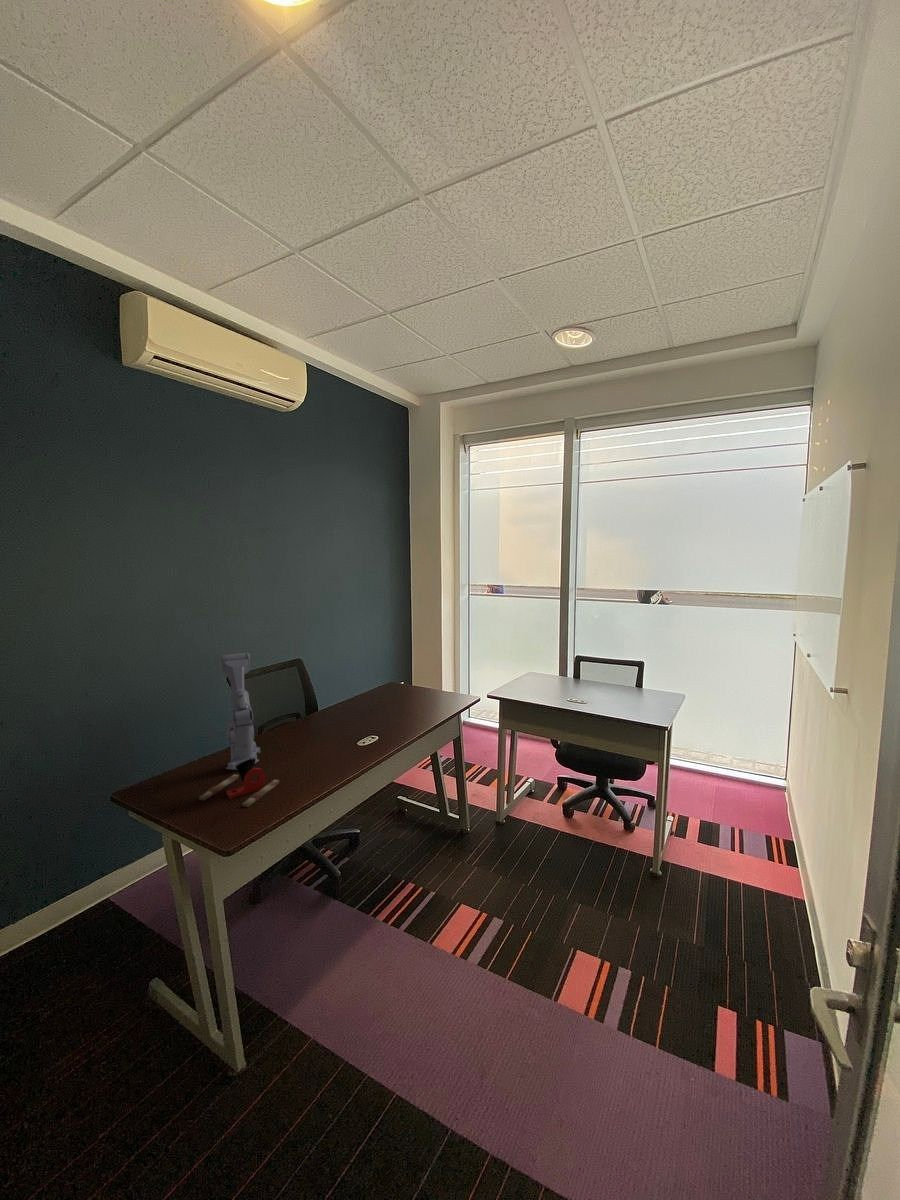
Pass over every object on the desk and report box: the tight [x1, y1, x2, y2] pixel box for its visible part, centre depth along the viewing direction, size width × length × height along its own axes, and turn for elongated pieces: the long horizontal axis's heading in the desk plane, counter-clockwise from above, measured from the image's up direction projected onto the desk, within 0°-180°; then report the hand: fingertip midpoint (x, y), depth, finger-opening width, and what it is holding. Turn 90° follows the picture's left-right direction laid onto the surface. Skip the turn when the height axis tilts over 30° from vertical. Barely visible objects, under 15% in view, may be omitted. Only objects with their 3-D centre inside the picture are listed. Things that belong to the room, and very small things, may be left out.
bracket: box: [226, 767, 267, 800], centre depth 168 cm, size 12×4×8 cm, turn 129°
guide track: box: [198, 773, 280, 808], centre depth 168 cm, size 17×19×1 cm
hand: (245, 780), depth 171 cm, fingers closed
